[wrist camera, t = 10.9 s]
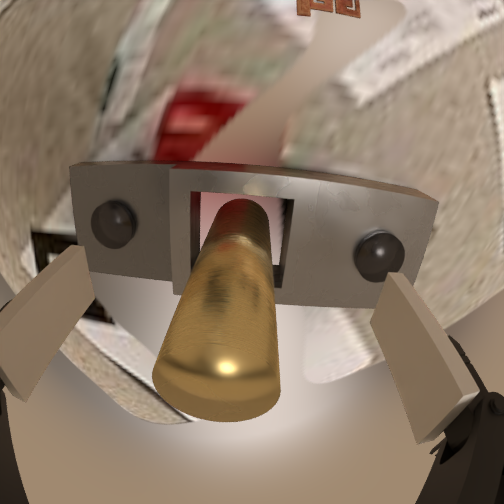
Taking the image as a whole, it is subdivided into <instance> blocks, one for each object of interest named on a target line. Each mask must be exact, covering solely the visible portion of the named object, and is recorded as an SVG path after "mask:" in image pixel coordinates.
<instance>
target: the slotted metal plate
mask: <svg viewBox="0 0 504 504" xmlns="http://www.w3.org/2000/svg"><path fill="white" fill-rule="evenodd" d="M69 169H70V184H71V195H72V205H73V213H74V221H75V228H76V234H77V241H78V246H84V248H85V253H86V259H87V264H88V268H89V271H92V272H99V273H107V274H114V275H122V276H129V277H139V278H146V279H154V280H164V281H172V282H173V294H175V295H182V293H183V291H184V288H185V286H186V284H187V281H188V279H189V276H190V274H191V272H192V269H193V267H194V265H195V262H196V260H197V257H198V255H199V253H200V200H201V192H215V193H230V194H243V195H254V196H266V197H276V198H286V199H288V201H287V209H286V217H285V225H284V232H283V240H282V247H281V255H280V262H279V265H272V268H273V281H274V294H275V304H284V305H300V306H318V307H341V308H372V309H375V308H376V305H377V303H378V300H379V297H380V294H381V291H382V289H383V286H384V283H385V280H386V277H387V274H388V272H394V273H403V274H404V276H405V277H406V278H407V279H408V281H409V282H410V283H411V285H412V286H413V285H414V282H415V280H416V277H417V274H418V271H419V269H420V266H421V263H422V260H423V257H424V254H425V251H426V247H427V244H428V241H429V237H430V234H431V231H432V227H433V223H434V220H435V216H436V212H437V208H438V204H439V202H438V201H437V200H435V199H433V198H431V197H430V196H428V195H426V194H424V193H422V192H421V191H419V190H417V189H412V188H407V187H403V186H398V185H393V184H388V183H383V182H377V181H372V180H366V179H361V178H355V177H349V176H342V175H336V174H329V173H322V172H315V171H307V170H299V169H290V168H281V167H271V166H260V165H248V164H235V163H218V162H198V161H102V162H82V163H78V164H75V165H72V166H69Z"/></svg>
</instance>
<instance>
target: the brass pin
mask: <svg viewBox="0 0 504 504" xmlns="http://www.w3.org/2000/svg"><path fill="white" fill-rule="evenodd" d="M152 379H153V384H154V386H155V388H156V390H157V392H158V393H159V394H160V396H161V397H162V398H163V399H164V400H165V401H166V402H168V403H169V404H170V405H172V406H173V407H175V408H176V409H178V410H180V411H182V412H184V413H186V414H188V415H191V416H193V417H197V418H200V419H204V420H209V421H216V422H238V421H244V420H249V419H252V418H256V417H258V416H260V415H262V414H264V413H266V412H267V411H269V410H270V409H271V408H272V407H273V406H274V405H275V404H276V403H277V401H278V399H279V397H280V392H281V390H280V372H279V355H278V339H277V323H276V309H275V294H274V281H273V268H272V255H271V242H270V230H269V220H268V217H267V214H266V212H265V211H264V209H263V208H262V207H261V206H260V205H259V204H257V203H256V202H254V201H252V200H248V199H234V200H231V201H229V202H227V203H225V204H224V205H223V206H222V207H221V208H220V209H219V211H218V213H217V214H216V217H215V219H214V221H213V223H212V226H211V228H210V230H209V232H208V235H207V237H206V239H205V241H204V244H203V246H202V248H201V251H200V253H199V255H198V257H197V260H196V262H195V265H194V267H193V269H192V272H191V274H190V276H189V279H188V281H187V284H186V286H185V288H184V291H183V293H182V296H181V299H180V301H179V303H178V306H177V308H176V311H175V313H174V316H173V318H172V321H171V323H170V326H169V329H168V331H167V334H166V336H165V339H164V341H163V344H162V347H161V350H160V352H159V355H158V357H157V360H156V363H155V365H154V368H153V372H152Z"/></svg>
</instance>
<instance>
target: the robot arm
mask: <svg viewBox="0 0 504 504" xmlns="http://www.w3.org/2000/svg"><path fill="white" fill-rule="evenodd" d="M94 299H95V295H94V291H93V287H92V282H91V278H90V273H89V268H88V264H87V259H86V253H85V248H84V246H77V245H71V246H69V247H68V248H67V249H66V250H65V251H64V252H62V253H61V254H60V255H59V256H58V257H57V258H56V259H54V260H53V261H52V262H51V263H50V264H49V265H48V266H47V267H46V268H44V269H43V270H42V271H41V272H40V273H39V274H38V275H37V276H36V277H35V278H34V279H33V280H32V281H31V282H30V283H28V284H27V285H26V286H25V287H24V288H23V289H22V290H21V291H20V292H19V293H18V294H17V295H16V296H15V297H14V298H13V299H12V300H10V301H9V302H7V303H6V304H5V305H4V306H3V307H2V308H1V310H0V504H29V502H28V499H27V496H26V493H25V490H24V487H23V484H22V480H21V477H20V473H19V470H18V466H17V462H16V458H15V453H14V449H13V445H12V440H11V433H10V427H9V421H8V413H7V405H6V397H5V393H4V392H3V390H2V389H3V388H4V386H6V387H7V388H8V390H9V391H10V392H11V394H12V395H13V396H15V397H16V398H18V399H20V400H22V401H24V402H27V400H28V398H29V396H30V395H31V393H32V391H33V389H34V388H35V386H36V385H37V383H38V381H39V380H40V378H41V376H42V374H43V373H44V371H45V370H46V368H47V366H48V365H49V363H50V362H51V360H52V359H53V357H54V356H55V354H56V353H57V351H58V349H59V348H60V347H61V345H62V344H63V342H64V341H65V339H66V338H67V336H68V335H69V333H70V332H71V330H72V329H73V328H74V326H75V325H76V323H77V322H78V321H79V319H80V318H81V316H82V315H83V314H84V312H85V311H86V310H87V308H88V307H89V305H90V304H91V303H92V301H93V300H94ZM370 324H371V326H372V329H373V331H374V333H375V336H376V338H377V340H378V342H379V345H380V347H381V349H382V352H383V354H384V357H385V359H386V361H387V364H388V366H389V369H390V371H391V374H392V376H393V379H394V381H395V384H396V387H397V389H398V392H399V394H400V397H401V400H402V403H403V405H404V408H405V411H406V414H407V417H408V419H409V422H410V425H411V428H412V431H413V434H414V437H415V440H416V443H417V445H418V444H422V443H425V442H429V441H432V440H434V439H435V438H437V437H438V436H439V435H440V434H441V433H442V432H443V431H444V433H445V436H446V437H445V438H444V439H443V440H442V441H441V442H440V443H439V444H438V445H436V446H435V447H434V448H433V449H432V450H431V452H430V454H433V453H434V452H435V451H436V450H438V449H439V450H438V453H437V454H436V455H435V456H436V458H435V461H434V463H433V466H432V469H431V471H430V473H429V476H428V478H427V480H426V482H425V484H424V487H423V489H422V491H421V493H420V495H419V497H418V499H417V501H416V503H415V504H504V397H503V396H502V395H501V394H499V393H496V392H488V391H487V389H486V387H485V386H484V384H483V382H482V380H481V379H480V377H479V375H478V373H477V372H476V370H475V369H474V367H473V365H472V364H470V360H469V359H468V357H467V356H465V352H464V351H463V349H462V348H461V346H460V344H459V343H458V342H457V341H455V340H454V339H453V338H452V337H451V336H447V335H446V333H445V332H444V330H443V329H442V327H441V326H440V324H439V323H438V321H437V320H436V318H435V317H434V315H433V314H432V312H431V311H430V310H429V308H428V307H427V305H426V304H425V302H424V301H423V300H422V298H421V297H420V296H419V294H418V293H417V291H416V290H415V289H414V287H413V286H412V285H411V283H410V282H409V281H408V279H407V278H406V277H405V276H404V274H403V273H394V272H388V274H387V277H386V280H385V283H384V286H383V289H382V291H381V294H380V297H379V300H378V303H377V305H376V308H375V310H374V313H373V316H372V318H371V321H370Z"/></svg>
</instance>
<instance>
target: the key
mask: <svg viewBox="0 0 504 504" xmlns="http://www.w3.org/2000/svg"><path fill="white" fill-rule="evenodd" d="M317 1H322V2H324V4H322V3H315V2H313V0H297V15H302V16H311V13H310V9H315V10H320V11H324V12H330V13H333V0H317ZM354 3H355V10H352V9H348V8H347V7H349V8H353V0H335V12H336V14H341V15H346V16H350V17H355V18H359V19H360V18H361V13H360V2H359V0H354Z"/></svg>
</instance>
